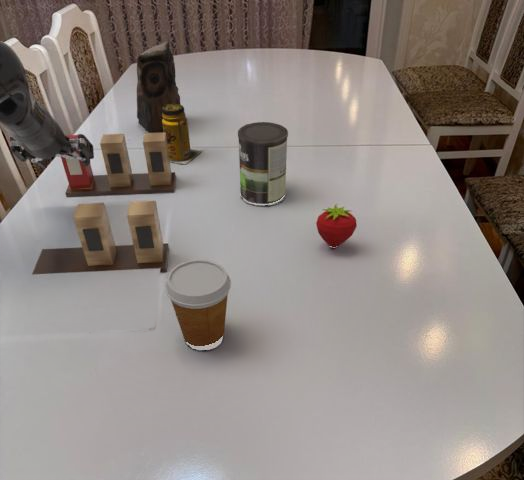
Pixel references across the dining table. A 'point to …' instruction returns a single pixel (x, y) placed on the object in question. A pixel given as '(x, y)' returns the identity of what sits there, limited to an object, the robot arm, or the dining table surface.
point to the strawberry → (336, 225)
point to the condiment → (177, 134)
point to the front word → (109, 243)
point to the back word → (121, 173)
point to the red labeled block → (77, 171)
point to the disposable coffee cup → (199, 299)
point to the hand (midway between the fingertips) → (65, 162)
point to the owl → (155, 86)
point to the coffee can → (262, 162)
